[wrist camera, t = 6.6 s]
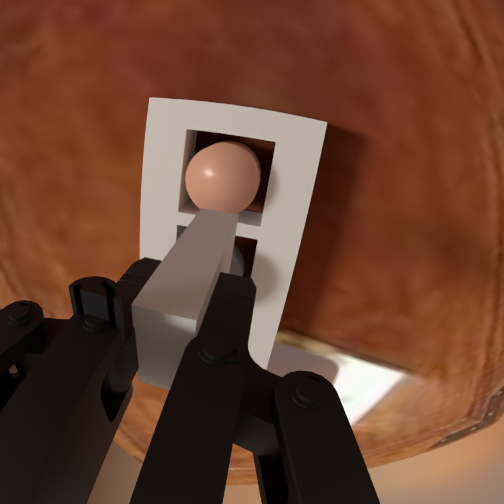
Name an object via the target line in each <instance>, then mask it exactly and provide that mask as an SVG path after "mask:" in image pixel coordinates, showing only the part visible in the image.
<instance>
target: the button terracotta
mask: <svg viewBox="0 0 504 504" xmlns="http://www.w3.org/2000/svg"><path fill="white" fill-rule="evenodd" d="M261 175H262V171H261V165H260V162H259V159H258V157H257V156H256V154H255V153H254V152H253V151H252V150H251V149H250V148H249V147H248V146H246V145H244V144H243V143H240V142H237V141H230V140H228V141H220V142H217V143H215V144H213V145H211V146H209V147H207V148H204V149H202V150H201V151H200V152H198V153H197V154H196V155H195V156H194V157H193V158H192V160H191V161H190V163H189V165H188V167H187V170H186V175H185V183H186V189H187V192H188V194H189V196H190V198H191V200H192V201H193V202H194V204H195V205H196V206H197V207H199V208H200V209H201V208H205V209H210V210H216V211H221V212H227V213H232V214H237V213H240V212H241V211H243V210H244V209H246V208H247V207H248V206H249V205H250V204H251V202H252V201H253V199H254V198H255V195H256V193H257V190H258V187H259V184H260V181H261Z"/></svg>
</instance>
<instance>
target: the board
mask: <svg viewBox="0 0 504 504" xmlns="http://www.w3.org/2000/svg"><path fill="white" fill-rule="evenodd" d="M326 126H327V122H324V121H319V120H315V119H310V118H306V117H301V116H296V115H291V114H286V113H280V112H275V111H269V110H263V109H257V108H251V107H244V106H237V105H229V104H221V103H213V102H203V101H193V100H181V99H166V98H150V99H149V106H148V115H147V124H146V134H145V144H144V156H143V170H142V187H141V212H140V259H142V258H144V257H147V258H152V259H156V260H161V261H162V260H163V259H164V258H165V256H166V255H167V253H168V252H169V251H170V249H171V248H172V247H173V245H174V244H175V243H176V241H177V240H178V239H179V237H180V236H181V234H182V233H183V232H184V231H185V229H186V228H187V227H188V225H189V224H190V223H191V221H192V220H193V219H194V217H195V216H196V215H197V213H198V212H199V211H200V210H201V209H200V208H199V207H197V206H196V205H195V204H194V202H193V201H190V196H189V194H188V192H187V189H186V183H185V175H186V170H187V167H188V165H189V163H190V161H191V160H192V158H193V157H194V156H195V148H196V140H197V132H198V130H200V131H208V132H215V133H223V134H230V135H236V136H243V137H249V138H255V139H261V140H267V141H272V142H276V145H275V150H274V156H273V161H272V167H271V172H270V177H269V183H268V188H267V194H266V199H265V204H264V210H263V213H258V212H253V211H248V210H243V211H241V212H240V213H237V215H239V216H238V222H237V228H236V234H235V235H236V236H241V237H246V238H252V239H257V240H258V242H257V247H256V253H255V258H254V264H253V269H252V274H251V278H252V280H253V282H254V284H255V286H256V288H257V291H256V297H255V304H254V309H253V316H252V323H251V329H250V335H249V341H248V350H249V353H250V356H251V357H252V359H253V360H254V361H255V362H256V363H257V364H258V365H259V366H260V367H262V368H263V369H265V370H266V368H267V365H268V362H269V358H270V355H271V351H272V348H273V344H274V341H275V337H276V334H277V330H278V326H279V323H280V319H281V316H282V312H283V308H284V304H285V301H286V297H287V293H288V289H289V286H290V282H291V278H292V274H293V270H294V266H295V262H296V258H297V254H298V250H299V246H300V242H301V238H302V234H303V230H304V226H305V222H306V217H307V213H308V209H309V205H310V200H311V196H312V192H313V187H314V183H315V178H316V174H317V169H318V165H319V160H320V155H321V151H322V146H323V141H324V136H325V131H326Z"/></svg>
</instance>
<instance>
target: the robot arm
mask: <svg viewBox="0 0 504 504" xmlns="http://www.w3.org/2000/svg"><path fill="white" fill-rule="evenodd" d="M238 216H239V215H237V214H232V213H227V212H221V211H216V210H210V209H205V208H201V210H200V211H199V212H198V213H197V215H196V216H195V217H194V219H193V220H192V221H191V223H190V224H189V225H188V227H187V228H186V229H185V231H184V232H183V233H182V234H181V236H180V237H179V239H178V240H177V241H176V243H175V244H174V245H173V247H172V248H171V249H170V251H169V252H168V253H167V255H166V256H165V258H164V259H163V260H162V261H161V260H156V259H152V258H147V257H144V258H142V259H140V260H138V261H136V262H134V263H133V264H132V265H131V266H130V267H129V269H128V270H127V271H126V273H125V274H124V275H123V276H122V277H121V278H120V280H119V281H118V282H117V283H115V282H114V281H113V280H110V279H108V278H105V277H98V276H93V277H85V278H82V279H79V280H76V281H74V282H73V283H72V284H70V285H69V292H70V297H71V303H72V308H73V313H74V315H73V316H72V317H71V318H70V319H53V318H44V314H43V310H42V308H41V307H40V306H39V304H37V303H35V302H33V301H26V300H22V301H17V302H14V303H12V304H10V305H8V306H6V307H5V308H3V309H2V310H0V504H87V501H88V499H89V496H90V494H91V491H92V489H93V486H94V484H95V481H96V479H97V476H98V474H99V471H100V469H101V467H102V464H103V461H104V459H105V457H106V455H107V452H108V449H109V447H110V445H111V443H112V440H113V438H114V436H115V433H116V431H117V429H118V427H119V424H120V422H121V420H122V417H123V415H124V413H125V411H126V408H127V406H128V404H129V402H130V400H131V397H132V393H133V387H132V380H133V378H134V376H135V374H136V372H137V370H138V376H139V381H140V382H143V383H147V384H150V385H154V386H157V387H161V388H164V389H168V390H169V393H168V396H167V398H166V401H165V404H164V407H163V409H162V412H161V415H160V417H159V420H158V423H157V426H156V428H155V431H154V434H153V437H152V440H151V442H150V445H149V448H148V451H147V454H146V456H145V459H144V462H143V465H142V468H141V471H140V474H139V477H138V480H137V482H136V486H135V488H134V491H133V494H132V497H131V500H130V503H129V504H222V503H223V497H224V491H225V486H226V480H227V474H228V469H229V463H230V457H231V451H232V445H233V443H234V444H236V445H238V446H240V447H242V448H244V449H246V450H248V451H251V452H253V457H254V463H255V468H256V474H257V480H258V485H259V490H260V496H261V502H262V504H380V502H379V499H378V497H377V494H376V491H375V488H374V486H373V483H372V480H371V478H370V475H369V473H368V470H367V467H366V465H365V462H364V459H363V457H362V454H361V452H360V449H359V446H358V444H357V441H356V439H355V436H354V434H353V431H352V428H351V426H350V423H349V421H348V418H347V416H346V413H345V411H344V408H343V406H342V403H341V401H340V398H339V396H338V393H337V391H336V390H335V388H334V387H333V385H332V384H331V383H330V382H329V381H328V380H327V379H325V378H324V377H323V376H321V375H318V374H315V373H313V372H309V371H295V372H290V373H288V374H286V375H285V376H283V377H280V376H277V375H275V374H273V373H271V372H269V371H267V370H265V369H263V368H262V367H260V366H259V365H258V364H257V363H256V362H255V361H254V360H253V359H252V357H251V356H250V353H249V350H248V341H249V335H250V329H251V323H252V316H253V309H254V304H255V297H256V291H257V288H256V286H255V284H254V282H253V280H252V278H248V277H243V276H238V275H233V274H229V272H230V266H231V259H232V253H233V247H234V241H235V234H236V228H237V222H238ZM14 364H15V366H16V368H17V370H18V372H16V373H14V374H13V373H10V372H9V370H8V369H10V368H11V367H12V366H13V365H14Z"/></svg>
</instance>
